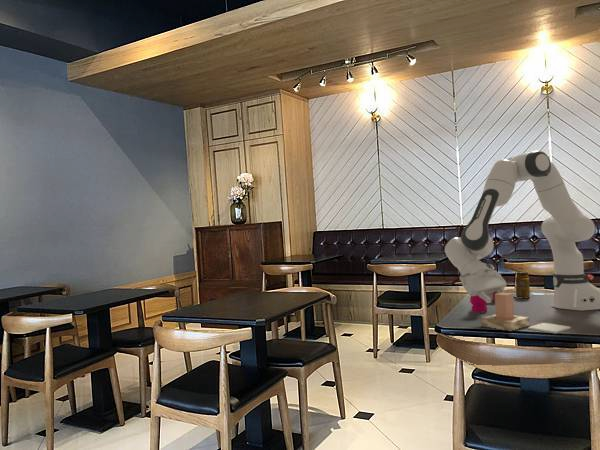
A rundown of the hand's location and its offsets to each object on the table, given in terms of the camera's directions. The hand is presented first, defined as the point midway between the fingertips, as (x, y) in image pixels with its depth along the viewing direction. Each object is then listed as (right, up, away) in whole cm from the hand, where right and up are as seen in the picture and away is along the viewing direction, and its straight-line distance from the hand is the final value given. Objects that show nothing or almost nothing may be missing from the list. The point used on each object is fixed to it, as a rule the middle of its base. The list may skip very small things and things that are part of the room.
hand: (497, 300), depth 186 cm
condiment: (+33, -7, +52) cm, 62 cm away
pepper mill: (+3, -9, +27) cm, 29 cm away
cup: (+18, -8, +51) cm, 55 cm away
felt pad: (+15, -9, -10) cm, 19 cm away
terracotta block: (+2, -9, -2) cm, 10 cm away
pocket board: (+2, -9, -2) cm, 10 cm away
